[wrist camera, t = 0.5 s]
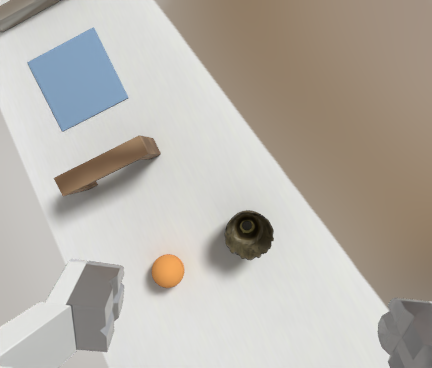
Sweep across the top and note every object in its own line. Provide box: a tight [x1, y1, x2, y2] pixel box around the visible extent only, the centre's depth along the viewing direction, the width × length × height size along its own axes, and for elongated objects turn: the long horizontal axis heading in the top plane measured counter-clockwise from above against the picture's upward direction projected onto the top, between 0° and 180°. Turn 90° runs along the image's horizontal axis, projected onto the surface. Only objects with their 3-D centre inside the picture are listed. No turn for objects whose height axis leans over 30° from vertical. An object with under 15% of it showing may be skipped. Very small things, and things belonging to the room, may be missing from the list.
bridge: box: [54, 136, 161, 196], centre depth 57 cm, size 3×14×9 cm, turn 116°
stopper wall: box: [0, 0, 61, 32], centre depth 58 cm, size 2×16×3 cm, turn 116°
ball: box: [152, 254, 184, 288], centre depth 60 cm, size 6×6×6 cm
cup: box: [225, 211, 274, 260], centre depth 57 cm, size 7×7×8 cm
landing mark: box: [28, 27, 128, 131], centre depth 60 cm, size 13×13×1 cm
